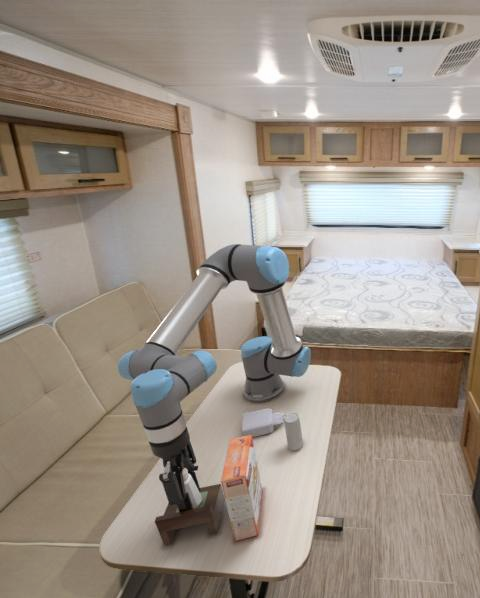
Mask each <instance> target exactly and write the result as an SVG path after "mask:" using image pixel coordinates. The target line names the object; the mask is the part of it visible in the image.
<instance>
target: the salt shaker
mask: <svg viewBox="0 0 480 598" xmlns="http://www.w3.org/2000/svg"><path fill="white" fill-rule="evenodd" d="M182 473H183V479H184V485H185V492H186V493H188V494H189V497H190V500H191V503H192V507H193V509H195V508H197V507H198V506H199V505H200V503H201V501H202V500H203V499H202V497H201V494H200V492H199V490H198V488H197V486H196V484H195V482H194V480H193V478H192V476H191V475H190V474H188V470H187V469H186V468H184V469H183V471H182Z"/></svg>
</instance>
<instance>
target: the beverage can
mask: <svg viewBox="0 0 480 598" xmlns="http://www.w3.org/2000/svg"><path fill="white" fill-rule="evenodd" d="M286 414H287V415H286ZM286 414H285V415H286V416H284V417H283V418H284V419H283V423H284V429H285V437H286V442H287V447H288V449H289V450H291V451H299V450H300V449H301V448H302V447H303V444H304V441H303V433H302V426H301V419H300V415H299V413H297V412H290V413H286Z"/></svg>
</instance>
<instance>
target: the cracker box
mask: <svg viewBox="0 0 480 598" xmlns="http://www.w3.org/2000/svg"><path fill="white" fill-rule="evenodd" d="M220 484H221V486H222V490H223V494H224V498H225V501H224V502H225V504H226V509H227V512H228V518H229V521H230V526H231V529H232V533H233V537H234V541H235V542H238V541H241V540H246V539H249V538H253V537H257V536H259V532H260V531H259V529H260V518H261V510H262V509H261V506H262V497H263V486H262V480H261V476H260V470H259V464H258V460H257V454H256V448H255V442H254V437H253V436H252V435H247V436H243V435H242V436H237V437H232V438H230V439H229V442H228V446H227V451H226V455H225V460H224V465H223V470H222V474H221V478H220Z"/></svg>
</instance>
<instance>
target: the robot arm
mask: <svg viewBox="0 0 480 598" xmlns="http://www.w3.org/2000/svg"><path fill="white" fill-rule="evenodd" d="M289 262H290V261H289V259H288V257H287V254H286V253H285V252H284V251H283V250H282V249H281V248H279V247H277V246H271V245H265V244H264V245H254V244H240V243H233V244H229V245H226V246H223V247H222V248H220V249H218V250H216V251H215V252H214V253H212V254H211V255H209V257H208V258H206V259H205V260H204V261H203V262H202V264H201V265H200V266H199V267H198V269H197V270H196V275H197V276H195V279H194V280H193V281H192V282H191V284H190V285H189V286H188V287H187V289H186V290H185V291H184V293H183V294H182V295H181V297H180V298H179V299H178V301H176V303H175V304H174V305H173V307H172V308H171V310H170V311H169V312H168V313H167V315H166V316H165V317H164V318H163V319H162V321H161V323H160V324H159V325H158V326H157V328H156V329H155V330H154V331H153V333H152V334H151V335H150V337H149V338H148V339H147V340H146V342H145V343H144V344H143V346H142V347H141V348H140V349H136V350H130V351H128V352H126V353H124V354H123V355H122V356H121V358H120V360H119V361H118V363H117V371H118V374H119V375H120V377H122V378H123V379H125V380H129V381H131V383H130V386H129V387H130V395H131V397H132V403H133V405H134V406H135V409H136V411H137V414H138V416H139V419H140V422H141V424H142V429H143V430H144V432H145V434H146V437H147V439H148V444H149V446H150V449H151V452H152V454H153V456H155V457H157V458H160V459H162V466H163V468H164V471H163V473H159V475H158V480H159V481H160V482H161V484H162V486H163V490H164V492H165V495H166V499H167V501H168V502H167V503H169V505H170V506H171V505H176V504H177V506H178V509H179V512H182V511H186V510H191V509H193V507H192V503H191V500H190V497H189V494H188V493H186V492H185V485H184V479H183V473H182V471H183V469H184V468H186V469H187V470H188V474H190V475H191V476H192V478H193V480H194V482H195V484H196V486H197V488H198V490H199V492H200V488H201V487H200V484H199V481H198V477H197V475H196V471H198V470H199V465H196V464H197V457H196V455H195V452H194V449H193V445H192V442H191V435H190V433H189V429H188V426H187V422H186V419H185V416H184V413H183V410H182V406H181V402H182V401H183V400H184V399H185V398H187V397H188V396H189V395H190V394H191V393H192V392H194V391H195V390H197V389H198V388H199V387H201V386H202V385H203V384H204V383H205V382H208V380H209V379H210V377H212V376H213V375H214V374H215V373H216V372H217V368H218V364H217V361H216V358H215V357H214V356H213V355H212V354H211V353H209V352H208V351H206V350H200V349H199V350H195V351H194V352H192V353H190V354H188V356H183V355H177V353H179V350H180V349H181V347H183V345H184V344H185V342H186V341H187V340H188V338H189V336H190V335H191V334H192V332H193V331H194V329H195V328H196V326H197V325H198V324H199V322H200V320H201V319H202V318H203V316H204V315H205V313H206V312H207V311H208V309H209V308H210V306H211V305H212V303H213V302H214V300H215V299H216V298H217V296H218V295H219V293H221V292H220V291H222V290H225V289H227V288H228V286H229V285H230V284H231V283H232V282H235V281H238V282H239V281H240V282H246V283H247V287H248V289H249V291H250V292H251V293H253V294H255V295H256V298H257V301H258V304H259V308H260V310H261V313H262V316H263V319H264V322H265V325H266V328H267V331H268V335H269V336H266V335H264V336H258V337H254V338H251V339H249V340H247V341H246V342H244V343H243V344H242V346H241V348H240V353H241V355H240V356H241V360H242V364H243V365H242V366H243V369H244V370H243V371H244V375H245V381H244V387H243V394H244V398H245V400H247V401H249V402H253V403H262V402H264V403H265V402H267V401H268V402H269V401H271V400H273V399H275V398H277V397H278V396H280V395H281V393H282V392H283V391H284V388H285V387H284V385H285V384H284V381H283V379H282V377H281V376H285V377H292V378H293V377H296V378H300V377H302V376H304V375H305V373H306V372H307V371H308V369H309V366H310V362H311V360H312V359H311V358H312V350H311V348H310V347H308V346H303V342H302V339H301V338H300V337H298V336H296V332H295V328H294V324H293V321H292V317H291V314H290V310H289V306H288V303H287V299H286V295H285V291H284V288H283V287H284V286H285V284H286V282H287V280H288V278H289V275H290V270H289V269H290V263H289Z"/></svg>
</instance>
